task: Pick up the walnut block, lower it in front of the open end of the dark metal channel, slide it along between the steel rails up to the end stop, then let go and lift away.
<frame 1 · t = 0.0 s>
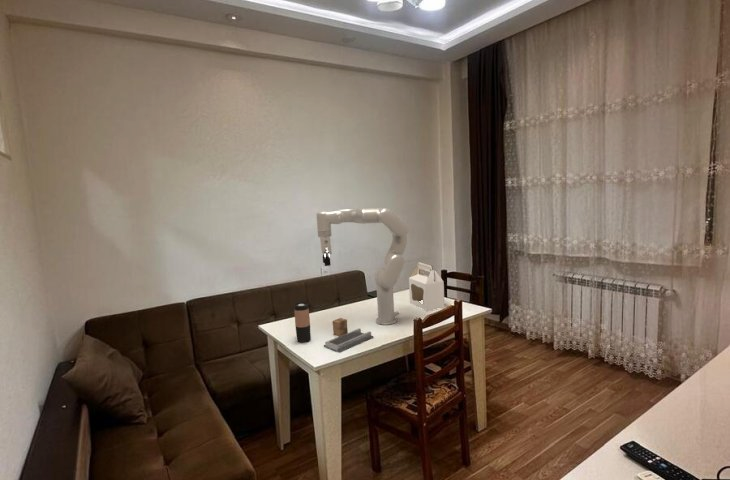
hand: (326, 264, 217), 37 cm above the table, tool pointing down, fingers open, 9 cm apart
walnut block: (340, 334, 212), on the table
travel mug: (304, 341, 205), on the table
gable box: (426, 305, 255), on the table
guide channel: (349, 342, 200), on the table
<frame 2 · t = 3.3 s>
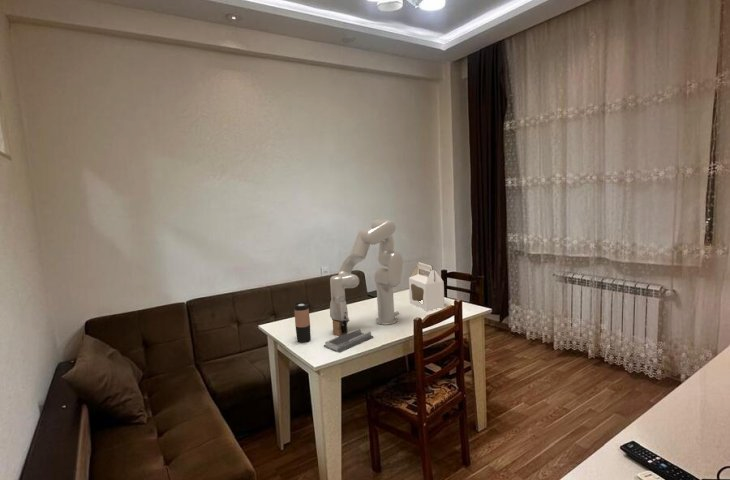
hand: (340, 330, 212), 2 cm above the table, tool pointing down, fingers closed on walnut block, 5 cm apart
walnut block: (340, 334, 212), on the table, touching gripper
everything else where it was.
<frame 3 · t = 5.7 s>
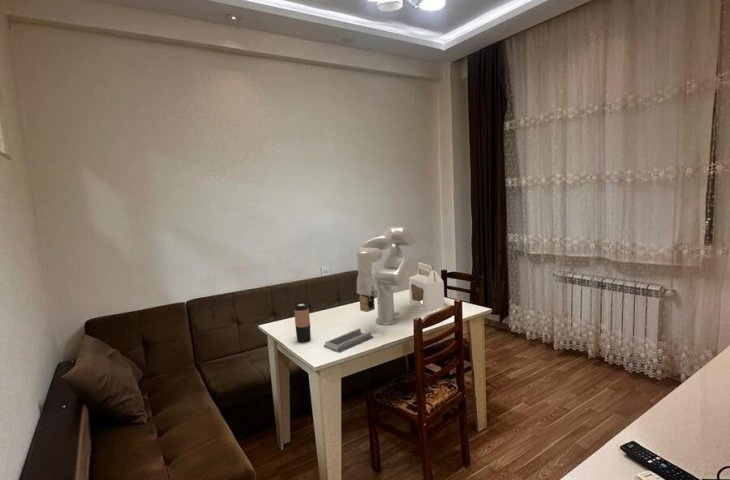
hand: (367, 306, 209), 15 cm above the table, tool pointing down, fingers closed on walnut block, 5 cm apart
walnut block: (367, 309, 209), point 13 cm above the table, touching gripper
everything else where it was.
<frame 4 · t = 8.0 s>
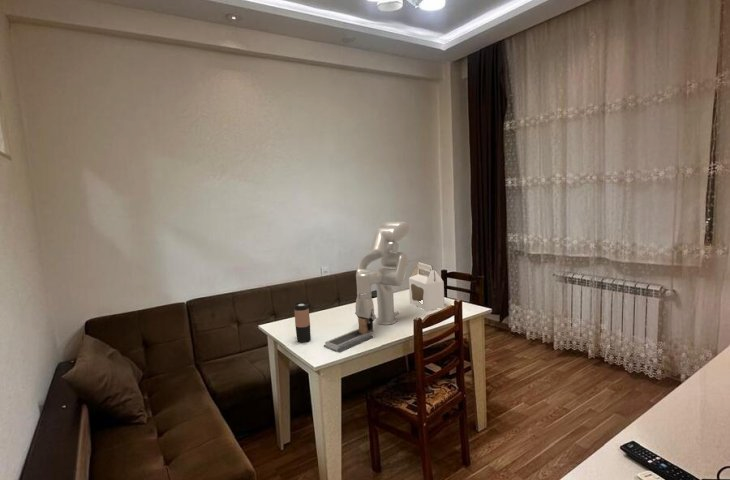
hand: (366, 328, 209), 4 cm above the table, tool pointing down, fingers closed on walnut block, 5 cm apart
walnut block: (366, 331, 209), point 2 cm above the table, touching gripper
everything else where it was.
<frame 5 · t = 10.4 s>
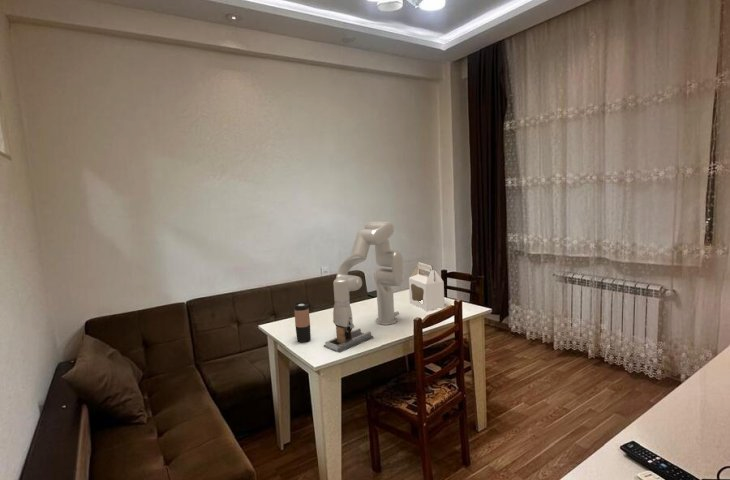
hand: (344, 337, 197), 3 cm above the table, tool pointing down, fingers closed on walnut block, 5 cm apart
walnut block: (344, 341, 198), point 2 cm above the table, touching gripper
everything else where it was.
when the fingers open (3 cm above the table, at t = 12.6 s): walnut block stays where it is, resting on guide channel.
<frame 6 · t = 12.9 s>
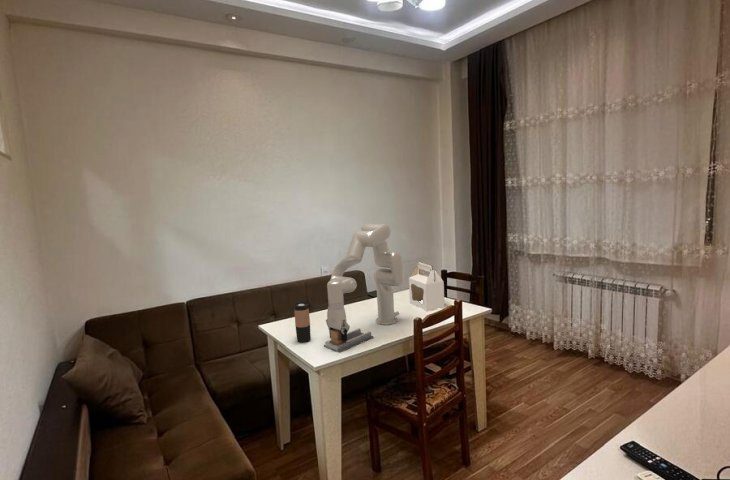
hand: (338, 338, 194), 4 cm above the table, tool pointing down, fingers open, 8 cm apart
walnut block: (338, 344, 195), point 1 cm above the table, touching guide channel
everything else where it was.
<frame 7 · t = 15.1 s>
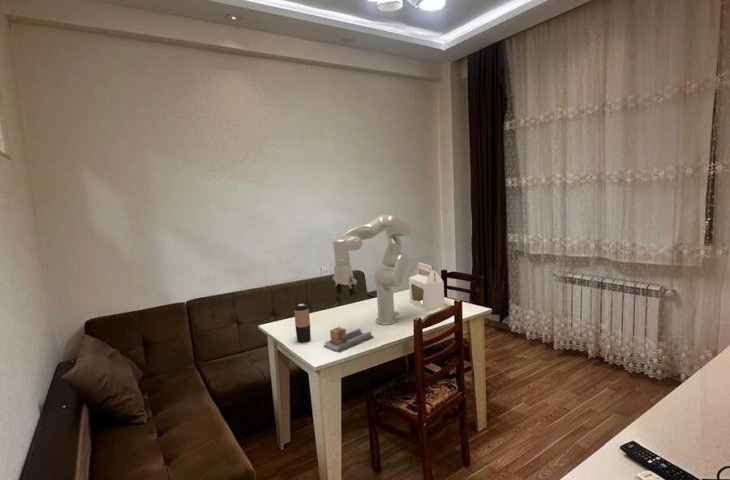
hand: (345, 293, 204), 24 cm above the table, tool pointing down, fingers open, 9 cm apart
nothing on the table moved.
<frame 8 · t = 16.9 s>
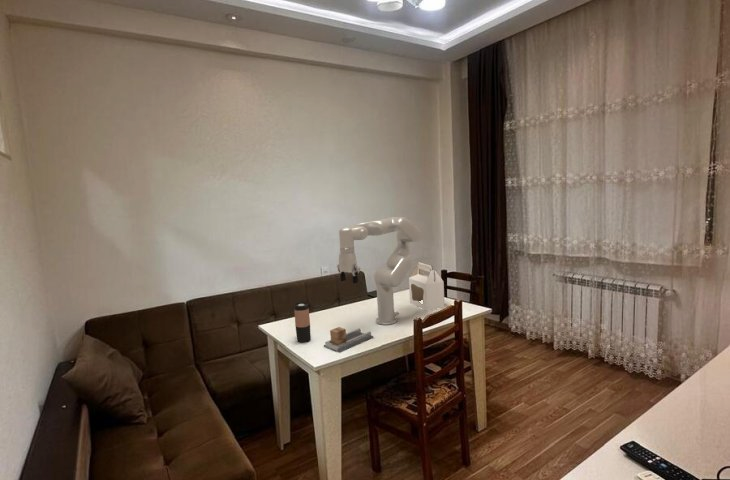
hand: (349, 281, 210), 28 cm above the table, tool pointing down, fingers open, 9 cm apart
nothing on the table moved.
at the end: walnut block 0.9 cm from the target spot on the guide channel, point 0.8 cm above the guide channel's base; walnut block tilted 0°; the gripper is holding nothing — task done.
